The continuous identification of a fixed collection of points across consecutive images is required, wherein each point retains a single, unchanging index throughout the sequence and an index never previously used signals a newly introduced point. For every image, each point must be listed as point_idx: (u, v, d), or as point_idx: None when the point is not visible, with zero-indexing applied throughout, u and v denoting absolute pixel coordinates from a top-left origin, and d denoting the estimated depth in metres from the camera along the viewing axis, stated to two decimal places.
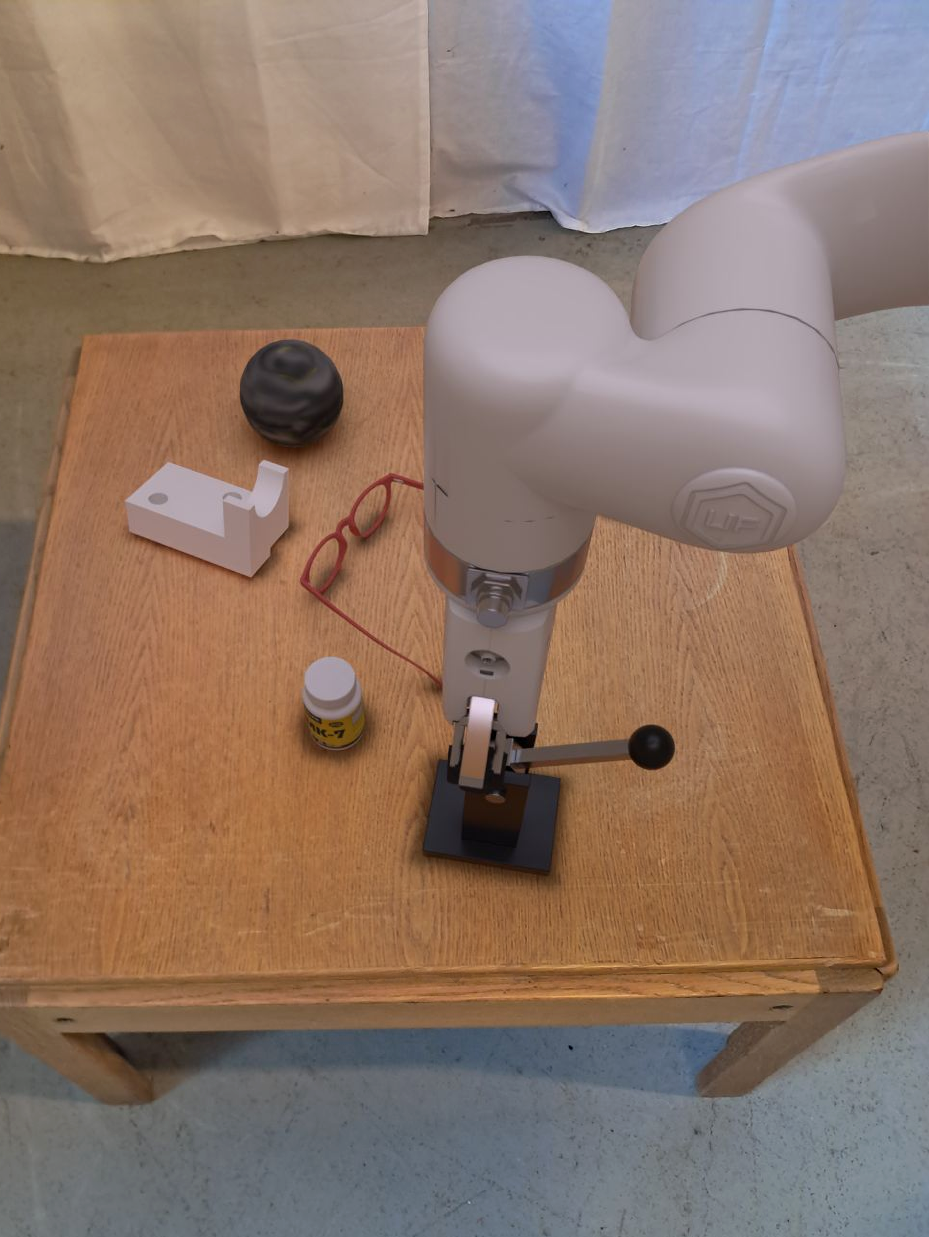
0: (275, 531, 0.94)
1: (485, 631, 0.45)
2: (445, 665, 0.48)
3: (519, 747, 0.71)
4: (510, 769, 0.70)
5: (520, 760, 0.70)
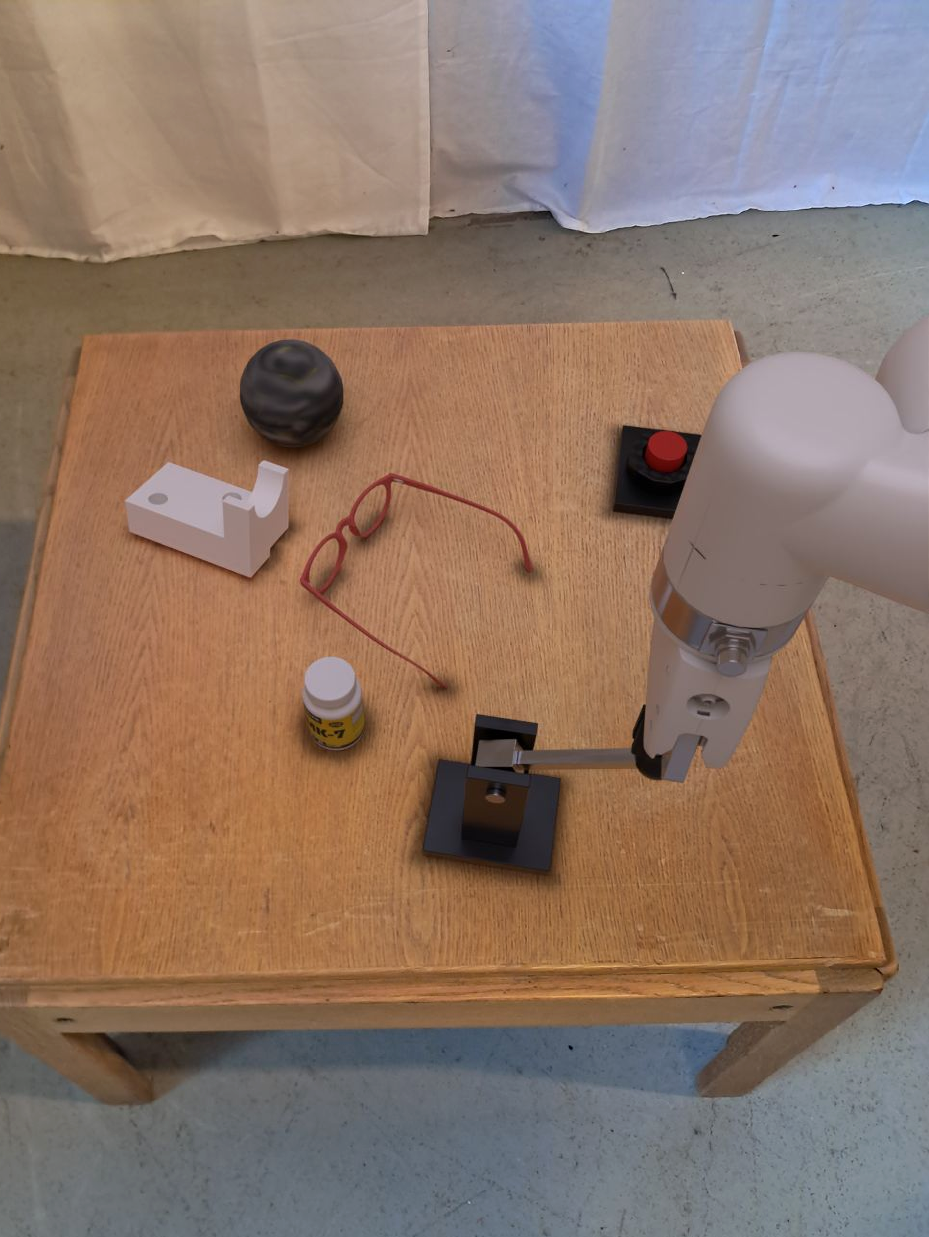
0: (275, 531, 0.94)
1: (714, 677, 0.49)
2: (663, 706, 0.53)
3: (520, 748, 0.72)
4: (512, 770, 0.70)
5: (522, 762, 0.71)
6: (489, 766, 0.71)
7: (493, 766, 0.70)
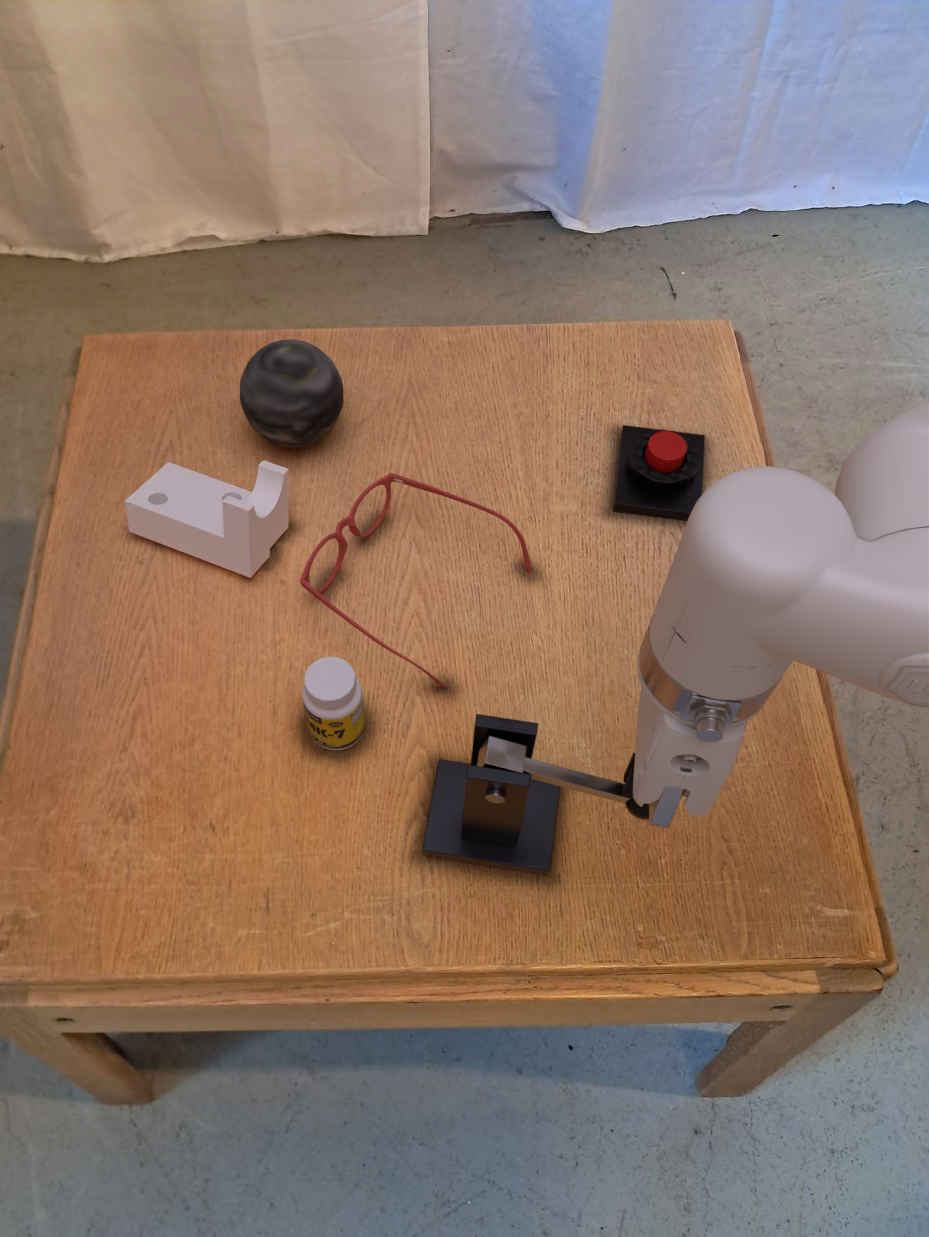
0: (275, 532, 0.94)
1: (695, 741, 0.55)
2: (650, 763, 0.58)
3: None
4: None
5: (526, 769, 0.72)
6: (499, 766, 0.70)
7: (503, 767, 0.70)
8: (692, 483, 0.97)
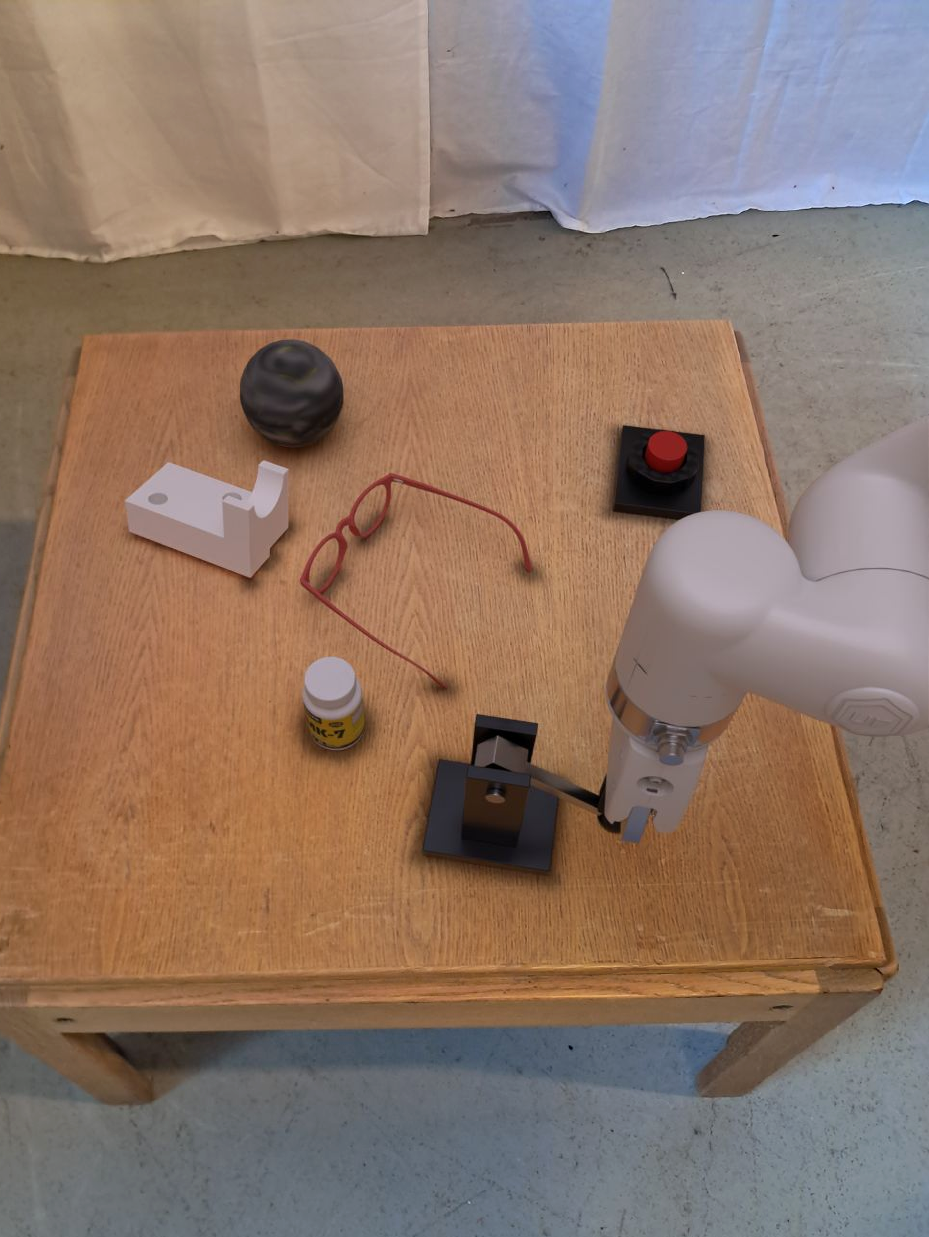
0: (275, 532, 0.94)
1: (659, 764, 0.58)
2: (618, 783, 0.62)
3: None
4: None
5: (524, 772, 0.72)
6: (505, 767, 0.70)
7: (508, 769, 0.70)
8: (692, 483, 0.97)
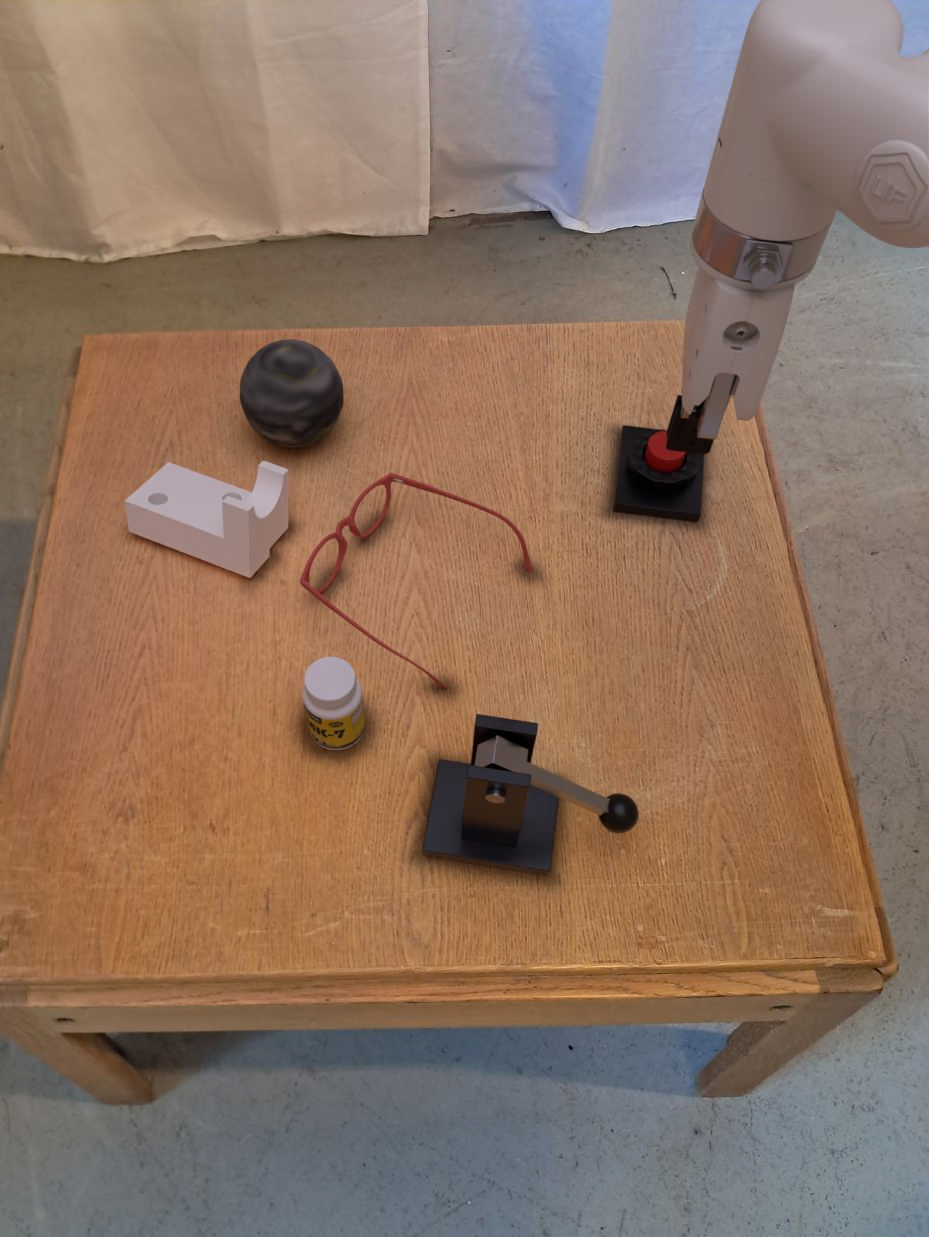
0: (274, 532, 0.94)
1: (747, 302, 0.59)
2: (702, 345, 0.62)
3: None
4: None
5: (524, 772, 0.72)
6: (505, 767, 0.70)
7: (508, 769, 0.70)
8: (692, 483, 0.97)
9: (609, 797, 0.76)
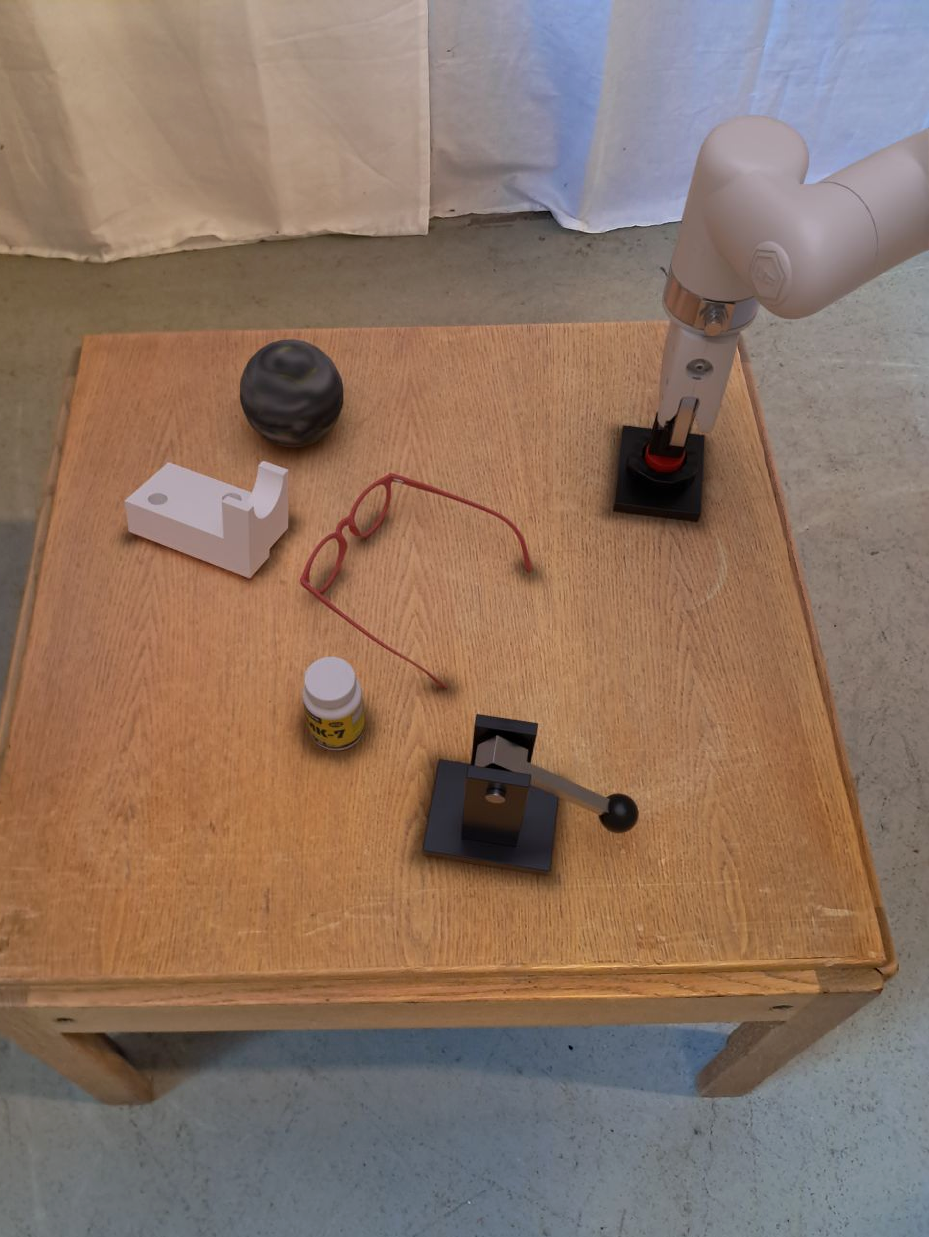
0: (274, 532, 0.94)
1: (703, 344, 0.79)
2: (671, 375, 0.82)
3: None
4: None
5: (524, 772, 0.72)
6: (505, 767, 0.70)
7: (508, 769, 0.70)
8: (692, 483, 0.97)
9: (609, 797, 0.76)
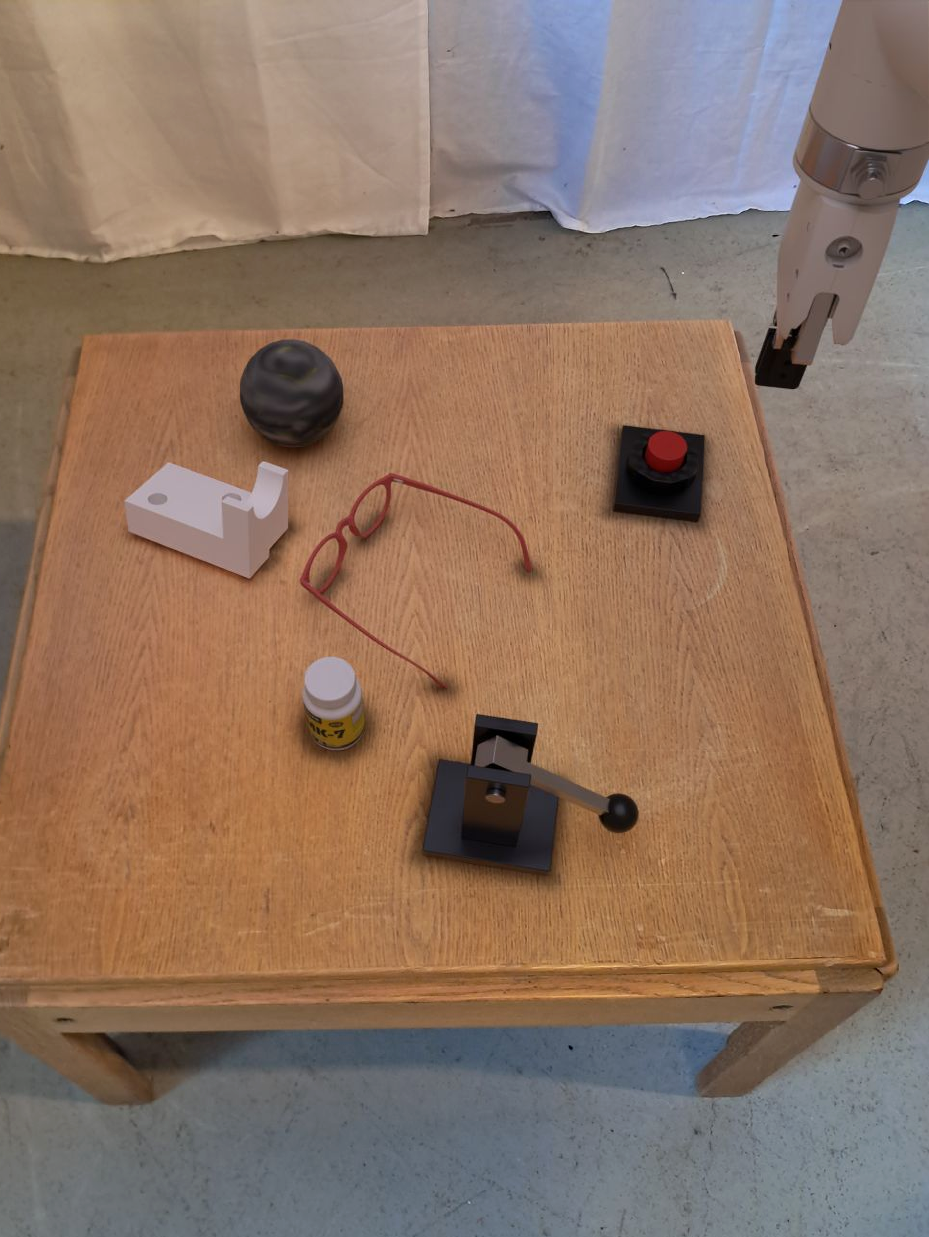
0: (274, 532, 0.94)
1: (852, 216, 0.59)
2: (803, 263, 0.63)
3: None
4: None
5: (524, 772, 0.72)
6: (505, 767, 0.70)
7: (508, 769, 0.70)
8: (692, 483, 0.97)
9: (609, 797, 0.76)
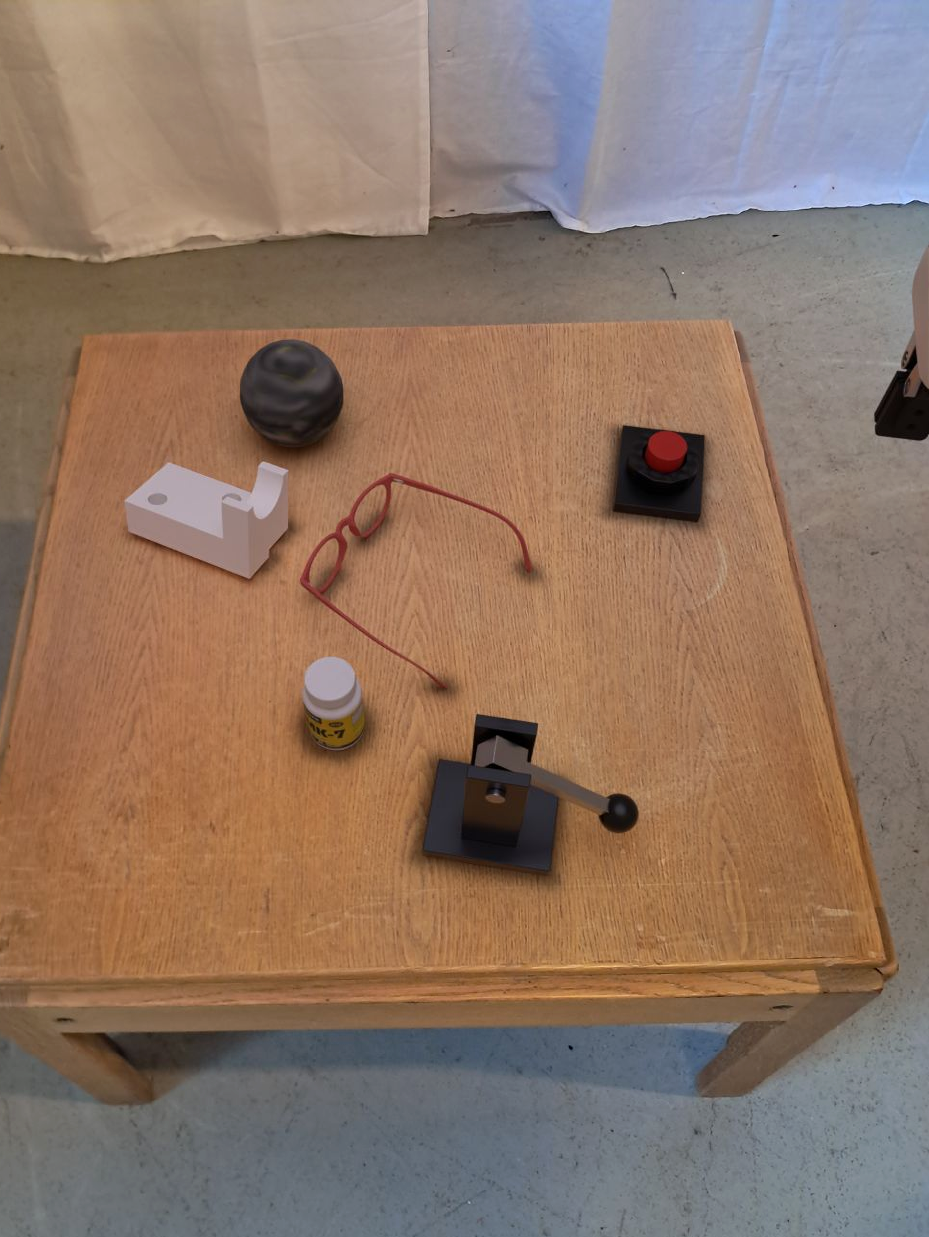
0: (274, 533, 0.94)
1: None
2: None
3: None
4: None
5: (524, 772, 0.72)
6: (505, 767, 0.70)
7: (508, 769, 0.70)
8: (692, 483, 0.97)
9: (609, 797, 0.76)
